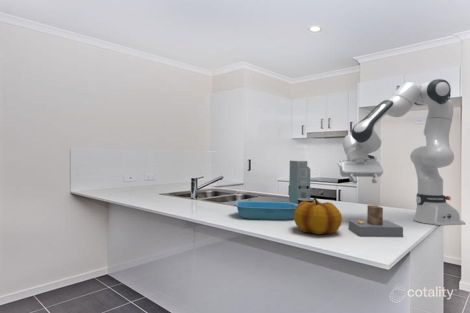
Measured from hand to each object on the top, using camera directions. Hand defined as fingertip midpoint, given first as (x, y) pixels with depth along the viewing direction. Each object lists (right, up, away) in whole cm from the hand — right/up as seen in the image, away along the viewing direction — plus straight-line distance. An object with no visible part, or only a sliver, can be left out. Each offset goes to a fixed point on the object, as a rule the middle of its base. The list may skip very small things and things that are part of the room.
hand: (365, 182), depth 148 cm
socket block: (-1, -21, -12) cm, 24 cm away
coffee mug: (-24, -21, +18) cm, 36 cm away
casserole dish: (-45, -21, +20) cm, 54 cm away
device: (-24, -20, +38) cm, 49 cm away
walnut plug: (-1, -21, -12) cm, 24 cm away
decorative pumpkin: (-26, -21, -11) cm, 35 cm away
